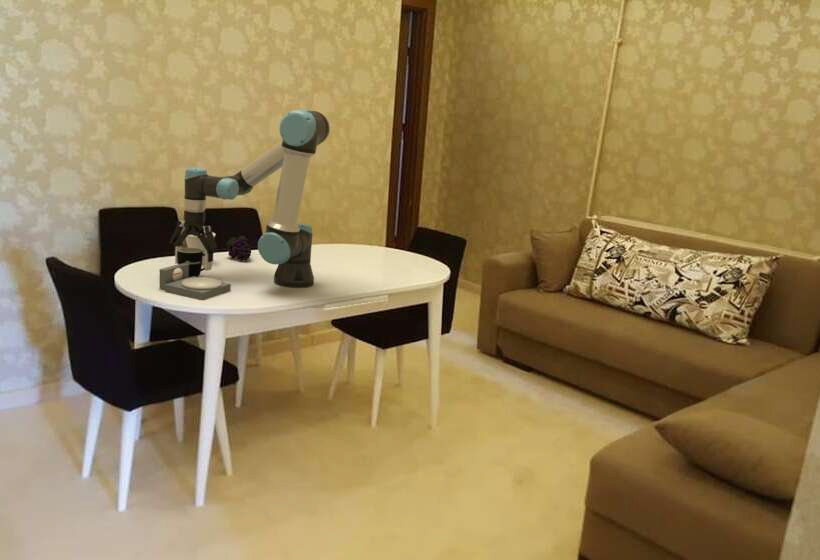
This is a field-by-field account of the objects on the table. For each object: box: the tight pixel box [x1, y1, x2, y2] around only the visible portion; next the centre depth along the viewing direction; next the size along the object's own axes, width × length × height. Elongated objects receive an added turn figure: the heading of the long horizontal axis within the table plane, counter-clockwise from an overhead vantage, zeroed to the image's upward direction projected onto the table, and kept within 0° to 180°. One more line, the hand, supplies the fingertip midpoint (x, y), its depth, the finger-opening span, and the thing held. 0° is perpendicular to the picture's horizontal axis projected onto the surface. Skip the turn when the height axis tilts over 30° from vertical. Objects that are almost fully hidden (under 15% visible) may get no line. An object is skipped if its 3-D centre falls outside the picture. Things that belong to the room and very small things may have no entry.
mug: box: [177, 246, 206, 277], centre depth 245 cm, size 12×9×10 cm
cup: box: [185, 230, 217, 267], centre depth 264 cm, size 12×12×12 cm
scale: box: [159, 263, 231, 301], centre depth 227 cm, size 19×15×7 cm
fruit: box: [225, 235, 252, 262], centre depth 278 cm, size 10×11×15 cm
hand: (193, 266), depth 245 cm, fingers open, 13 cm apart
